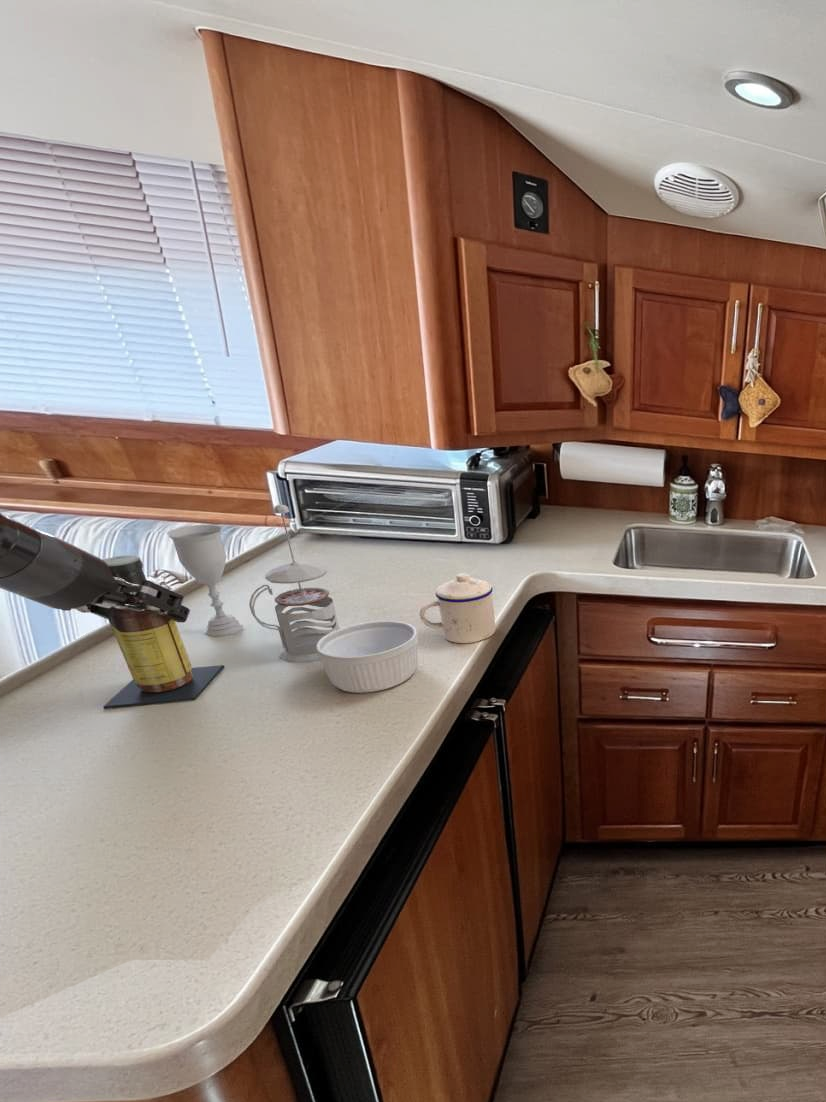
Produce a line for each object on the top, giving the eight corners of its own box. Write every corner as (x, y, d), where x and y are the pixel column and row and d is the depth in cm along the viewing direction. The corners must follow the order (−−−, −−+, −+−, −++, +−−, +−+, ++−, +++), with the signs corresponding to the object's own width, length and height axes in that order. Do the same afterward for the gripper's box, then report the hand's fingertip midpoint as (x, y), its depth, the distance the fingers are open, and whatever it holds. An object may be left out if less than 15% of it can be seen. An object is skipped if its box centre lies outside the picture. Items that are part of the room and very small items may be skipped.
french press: (357, 650, 108) (327, 507, 98) (272, 671, 100) (229, 518, 90) (340, 630, 114) (310, 494, 104) (258, 649, 106) (217, 503, 96)
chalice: (197, 626, 111) (166, 528, 104) (247, 617, 116) (220, 522, 109) (199, 642, 106) (166, 540, 99) (251, 632, 111) (223, 534, 104)
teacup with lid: (490, 619, 123) (484, 563, 118) (502, 638, 116) (496, 579, 112) (420, 632, 116) (410, 572, 111) (428, 652, 109) (418, 590, 105)
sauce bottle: (163, 673, 96) (119, 549, 89) (206, 674, 97) (167, 552, 89) (123, 695, 90) (72, 565, 83) (169, 697, 91) (123, 567, 83)
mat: (103, 708, 88) (102, 706, 88) (142, 674, 96) (141, 671, 96) (195, 700, 91) (194, 697, 91) (224, 667, 100) (223, 664, 100)
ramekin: (322, 668, 102) (313, 629, 99) (416, 650, 110) (410, 613, 107) (328, 707, 92) (318, 665, 90) (430, 684, 100) (423, 645, 97)
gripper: (121, 542, 78) (215, 593, 93) (-11, 537, 76) (106, 589, 91) (96, 598, 75) (198, 641, 90) (-41, 594, 74) (85, 638, 89)
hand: (152, 615), depth 91 cm, fingers open, 8 cm apart
